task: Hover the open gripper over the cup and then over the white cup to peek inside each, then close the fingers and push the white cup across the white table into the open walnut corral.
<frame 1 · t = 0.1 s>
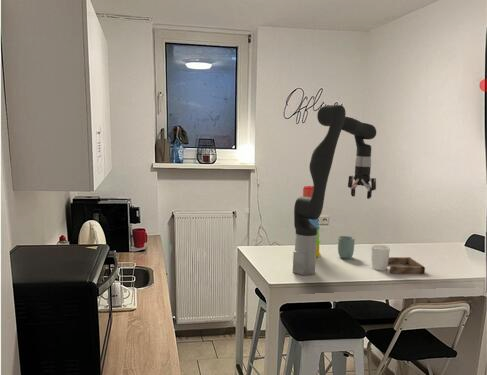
hand: (360, 197, 213), 29 cm above the table, fingers open, 8 cm apart
stacking cups: (310, 255, 212), on the table
corral: (400, 268, 194), on the table
white cup: (379, 268, 193), on the table
cup: (345, 258, 209), on the table
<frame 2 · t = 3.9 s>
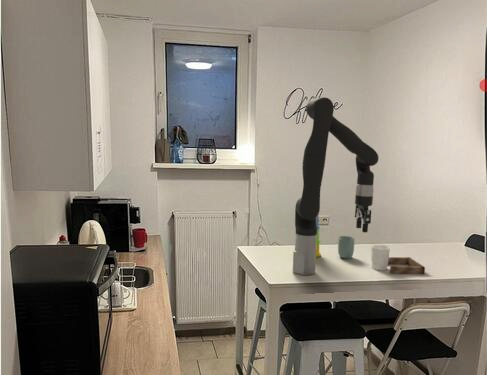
hand: (361, 230, 190), 18 cm above the table, fingers open, 8 cm apart
nothing on the table moved.
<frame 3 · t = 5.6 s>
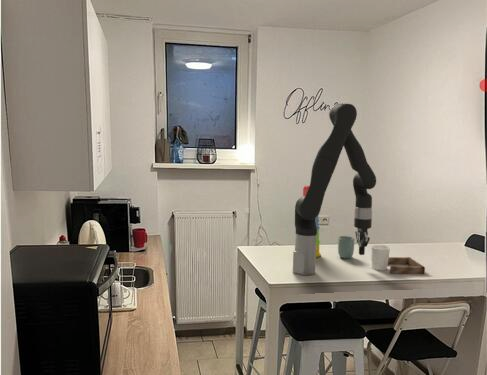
hand: (361, 254, 192), 7 cm above the table, fingers closed
nothing on the table moved.
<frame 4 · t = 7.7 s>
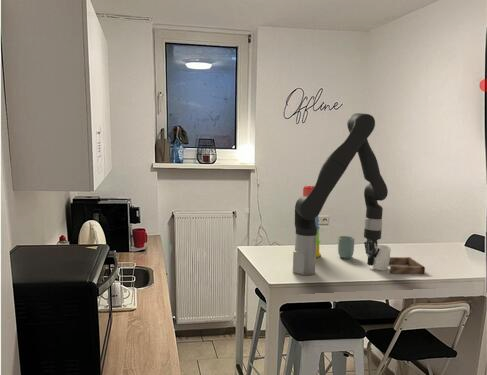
hand: (370, 264, 193), 2 cm above the table, fingers closed
white cup: (380, 268, 193), on the table, touching gripper
everything else where it was.
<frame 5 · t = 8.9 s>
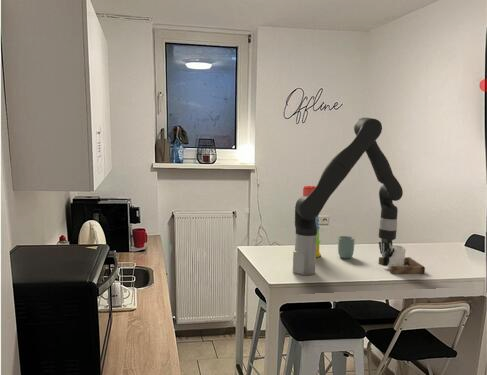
hand: (384, 265, 193), 2 cm above the table, fingers closed
white cup: (395, 268, 193), on the table, touching gripper
everything else where it was.
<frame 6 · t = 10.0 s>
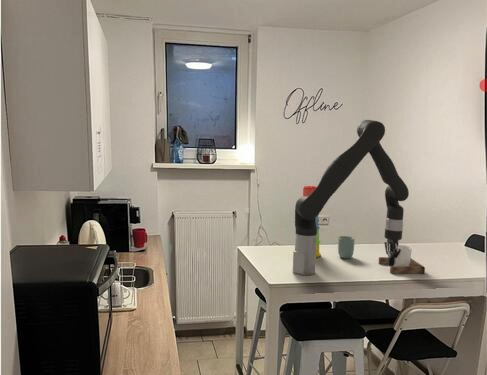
hand: (390, 265, 193), 1 cm above the table, fingers closed
white cup: (400, 269, 194), on the table, touching gripper
everything else where it was.
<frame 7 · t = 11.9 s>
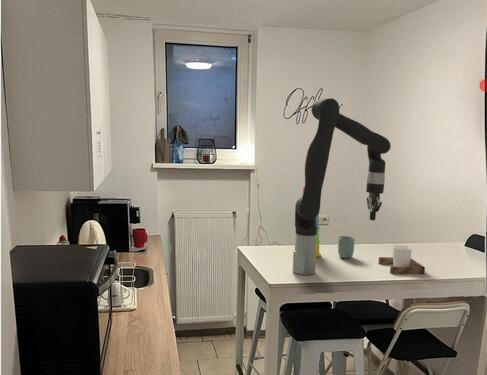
hand: (372, 220, 192), 22 cm above the table, fingers closed
white cup: (400, 269, 194), on the table
everything else where it was.
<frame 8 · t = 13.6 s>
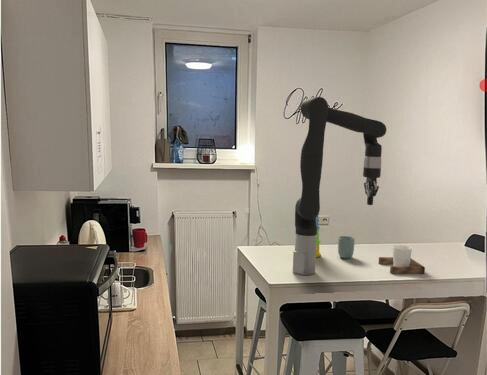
hand: (369, 204, 192), 29 cm above the table, fingers closed
nothing on the table moved.
at the end: white cup 0.2 cm from the corral (horizontally); white cup tilted 0°; white cup moved 10.0 cm from its start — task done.
